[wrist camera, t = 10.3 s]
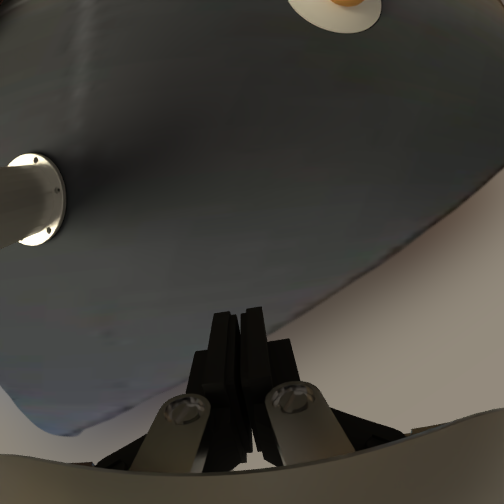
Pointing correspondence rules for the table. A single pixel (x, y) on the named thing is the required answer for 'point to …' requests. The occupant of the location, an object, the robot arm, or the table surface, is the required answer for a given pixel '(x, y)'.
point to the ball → (347, 2)
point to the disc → (338, 14)
